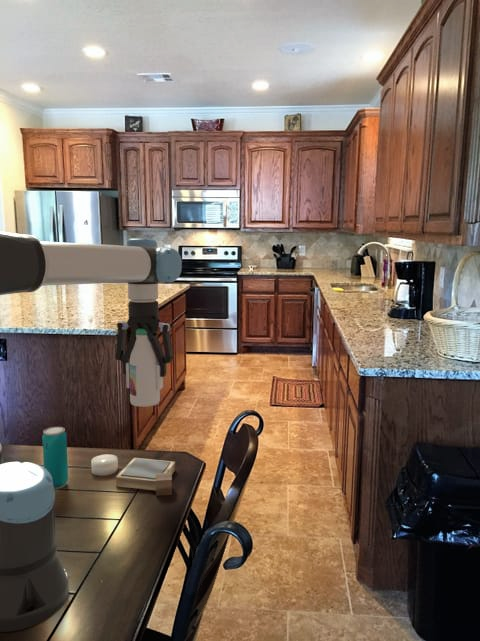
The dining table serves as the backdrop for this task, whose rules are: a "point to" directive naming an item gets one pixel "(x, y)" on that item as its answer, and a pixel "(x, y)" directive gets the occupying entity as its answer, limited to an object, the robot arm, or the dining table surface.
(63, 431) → the beverage can
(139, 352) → the milk bottle
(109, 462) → the white rounded block
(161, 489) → the tan wooden block
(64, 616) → the dining table surface
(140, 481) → the wooden picture frame
